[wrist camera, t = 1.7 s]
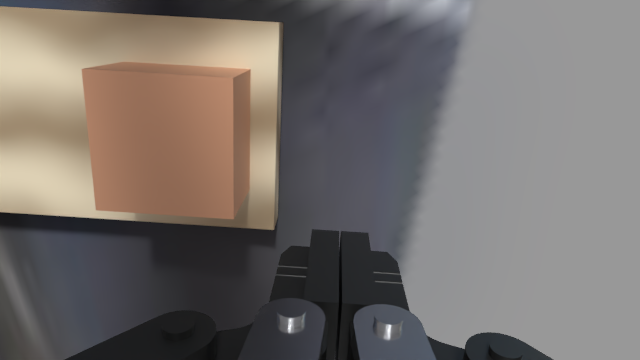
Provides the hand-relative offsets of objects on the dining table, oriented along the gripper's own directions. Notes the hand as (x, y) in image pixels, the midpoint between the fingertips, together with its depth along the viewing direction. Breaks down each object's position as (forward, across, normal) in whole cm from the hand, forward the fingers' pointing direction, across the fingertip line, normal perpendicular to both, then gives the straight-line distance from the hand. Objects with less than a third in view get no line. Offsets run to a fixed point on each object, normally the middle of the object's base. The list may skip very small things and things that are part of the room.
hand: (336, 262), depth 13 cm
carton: (+15, +8, 0) cm, 17 cm away
